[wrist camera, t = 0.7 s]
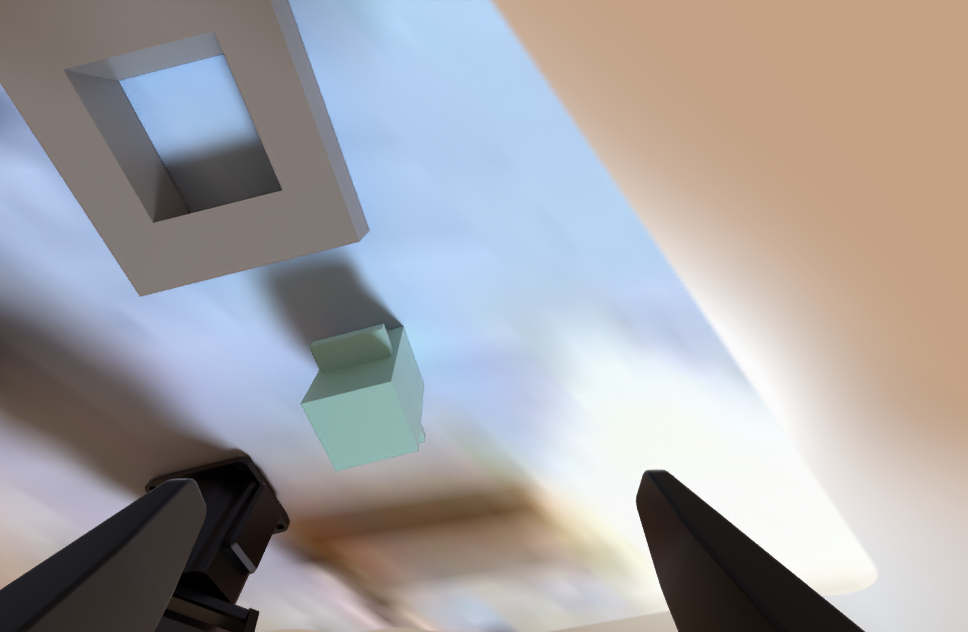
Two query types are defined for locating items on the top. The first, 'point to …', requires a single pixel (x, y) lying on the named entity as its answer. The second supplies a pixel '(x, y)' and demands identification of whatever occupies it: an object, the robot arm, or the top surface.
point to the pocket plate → (131, 155)
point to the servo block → (366, 396)
